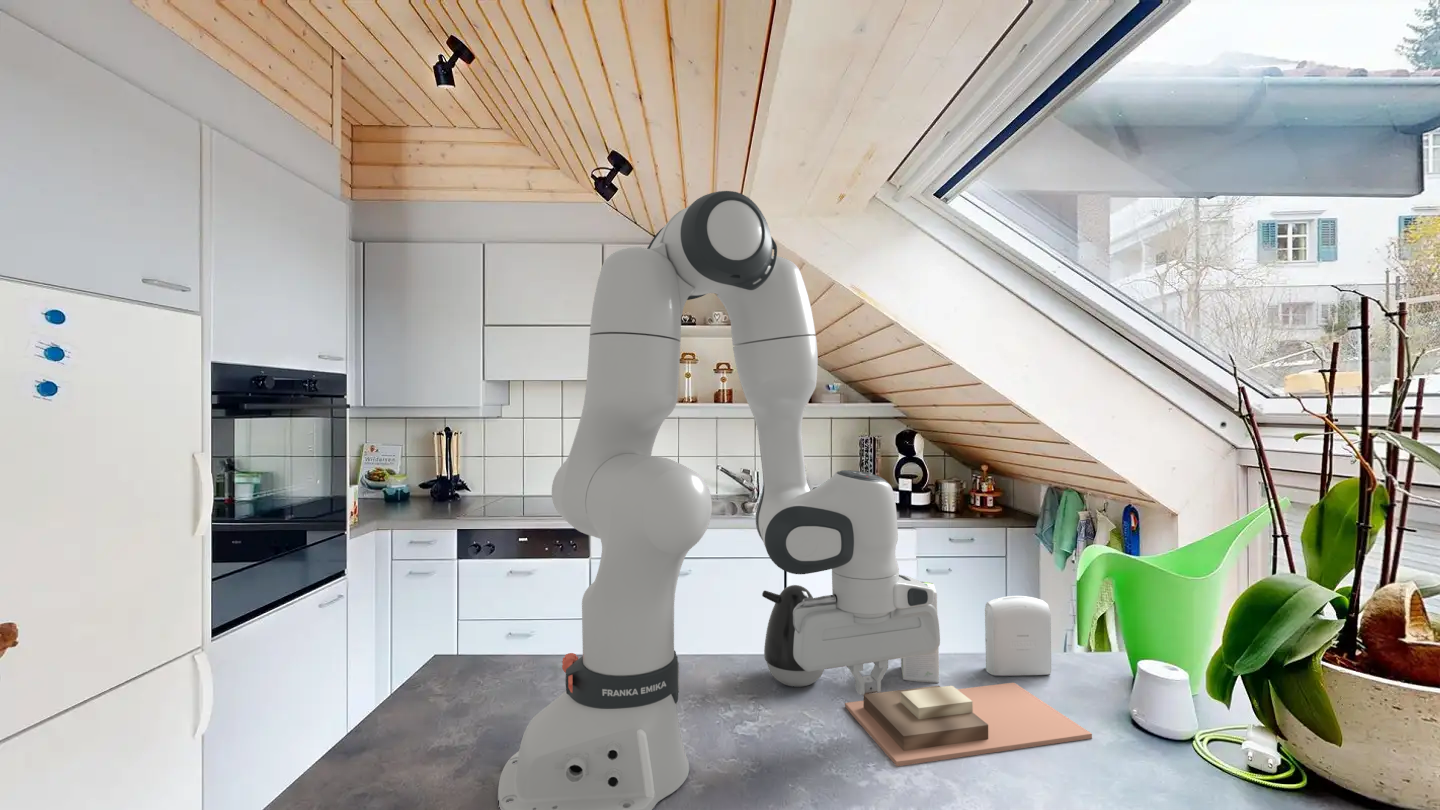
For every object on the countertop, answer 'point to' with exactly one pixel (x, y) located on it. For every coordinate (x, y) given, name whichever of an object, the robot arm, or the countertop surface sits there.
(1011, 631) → the photo printer
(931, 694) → the birch tile
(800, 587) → the pump dispenser
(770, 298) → the robot arm
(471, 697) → the countertop surface
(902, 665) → the syrup box
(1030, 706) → the rubber mat
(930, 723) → the walnut block
